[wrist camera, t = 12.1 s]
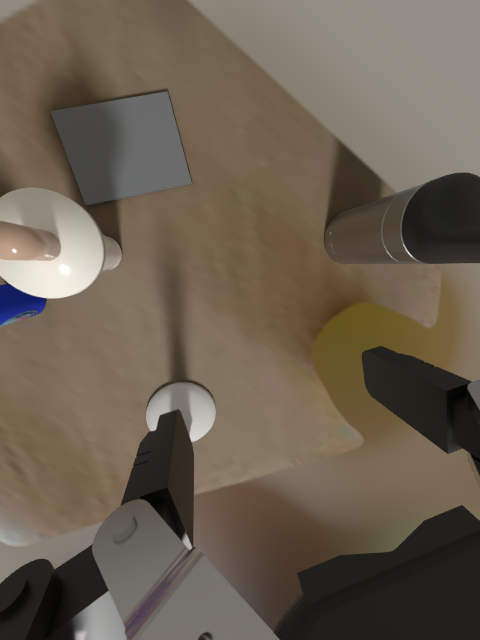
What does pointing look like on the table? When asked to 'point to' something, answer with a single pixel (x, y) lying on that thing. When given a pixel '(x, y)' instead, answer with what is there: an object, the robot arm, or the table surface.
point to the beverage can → (18, 304)
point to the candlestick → (184, 407)
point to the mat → (123, 147)
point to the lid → (48, 244)
